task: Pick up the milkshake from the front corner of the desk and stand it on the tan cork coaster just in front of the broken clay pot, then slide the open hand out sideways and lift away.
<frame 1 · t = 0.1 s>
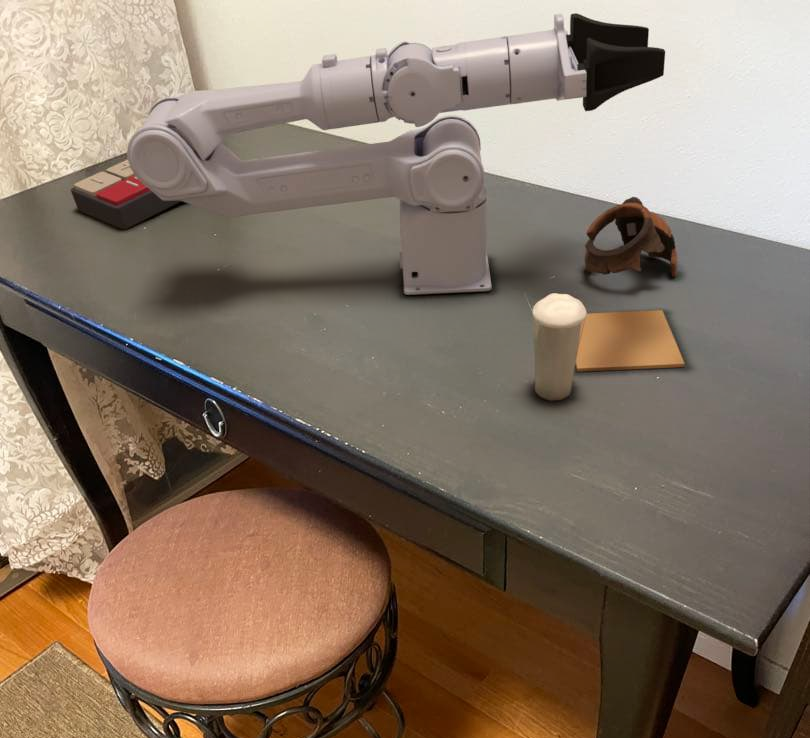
hand: (655, 50, 78), 22 cm above the table, tool horizontal, fingers open, 7 cm apart
coaster: (621, 341, 83), on the table
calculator: (146, 202, 115), on the table
broken clay pot: (629, 270, 94), on the table
milkshake: (548, 393, 78), on the table
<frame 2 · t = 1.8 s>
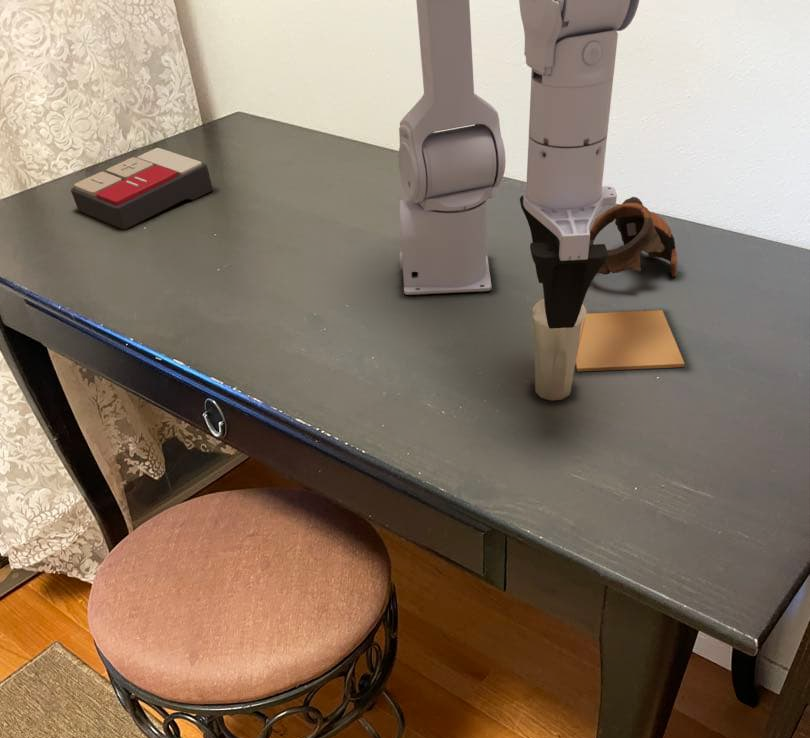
hand: (555, 302, 71), 9 cm above the table, tool pointing down, fingers open, 7 cm apart
nothing on the table moved.
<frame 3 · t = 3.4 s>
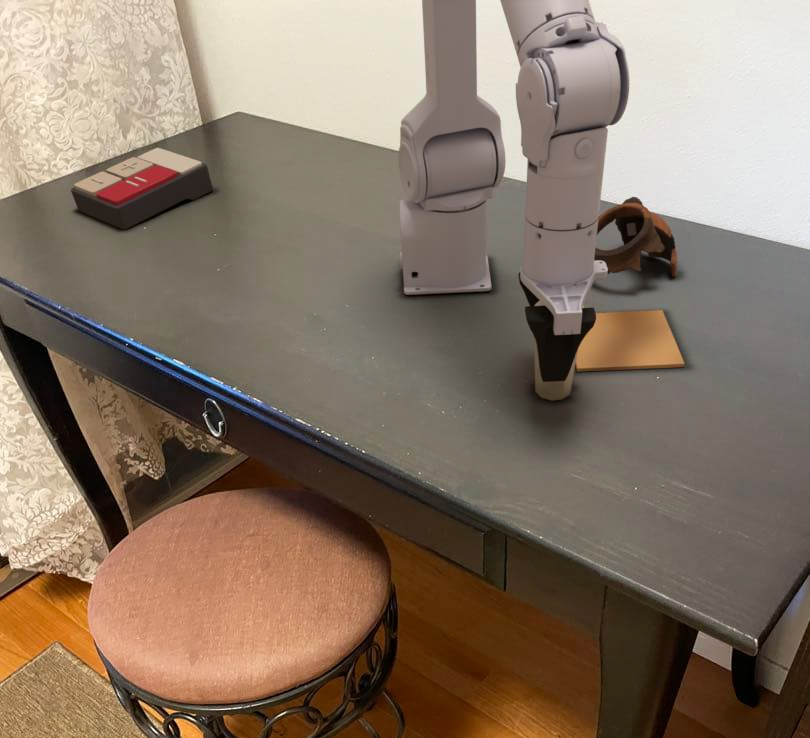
hand: (550, 364, 76), 3 cm above the table, tool pointing down, fingers closed on milkshake, 4 cm apart
milkshake: (548, 392, 78), on the table, touching gripper
everything else where it was.
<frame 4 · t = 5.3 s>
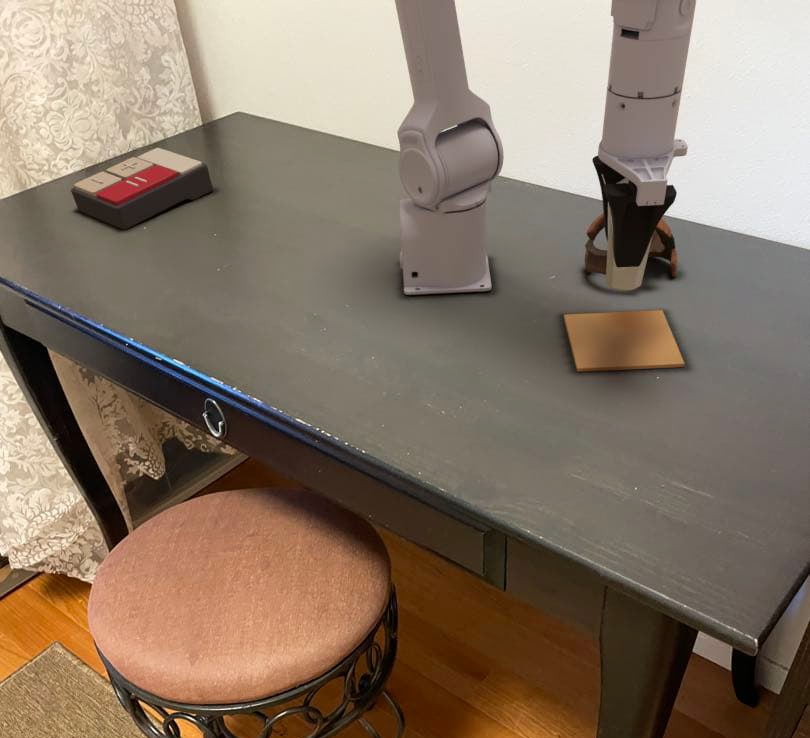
hand: (622, 252, 75), 10 cm above the table, tool pointing down, fingers closed on milkshake, 4 cm apart
milkshake: (618, 284, 78), point 7 cm above the table, touching gripper
everything else where it was.
when the fingers open (3 cm above the table, at t = 7.5 s): milkshake stays where it is, resting on coaster.
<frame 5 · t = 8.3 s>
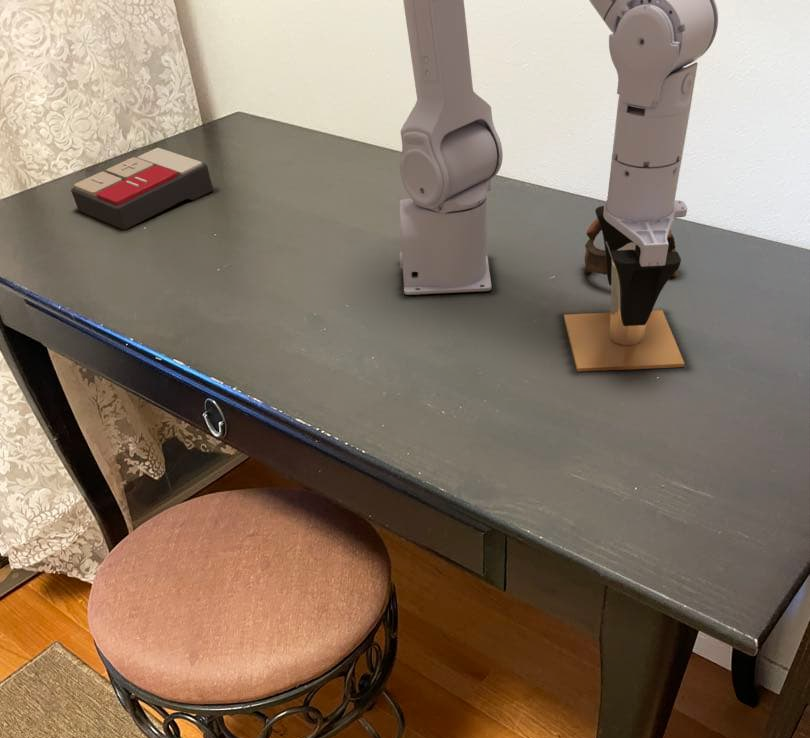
hand: (626, 302, 80), 4 cm above the table, tool pointing down, fingers open, 7 cm apart
milkshake: (621, 339, 83), resting on coaster
everything else where it was.
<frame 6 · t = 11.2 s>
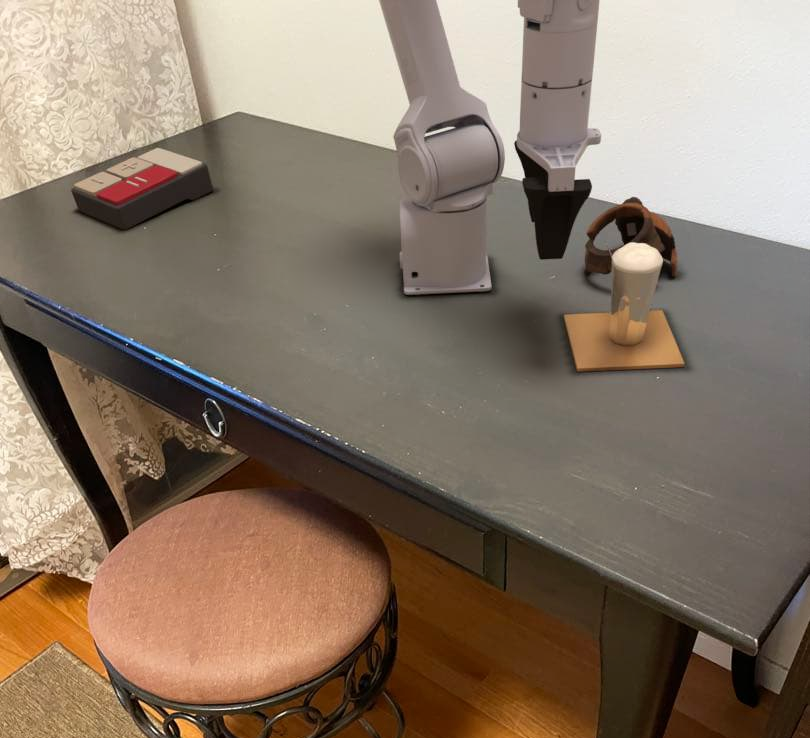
hand: (546, 238, 78), 10 cm above the table, tool pointing down, fingers open, 7 cm apart
nothing on the table moved.
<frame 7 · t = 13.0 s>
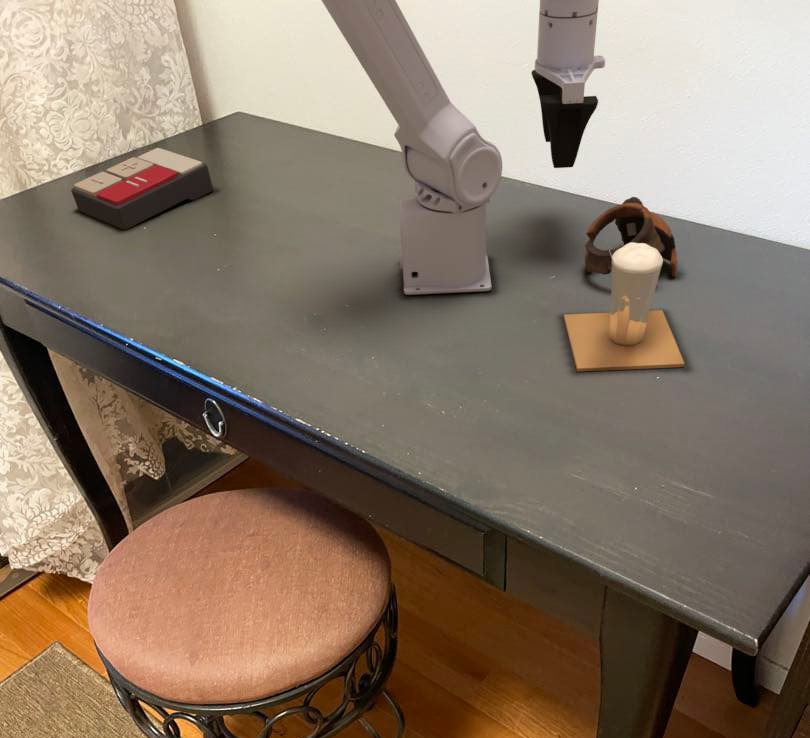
hand: (558, 153, 93), 10 cm above the table, tool pointing down, fingers open, 7 cm apart
nothing on the table moved.
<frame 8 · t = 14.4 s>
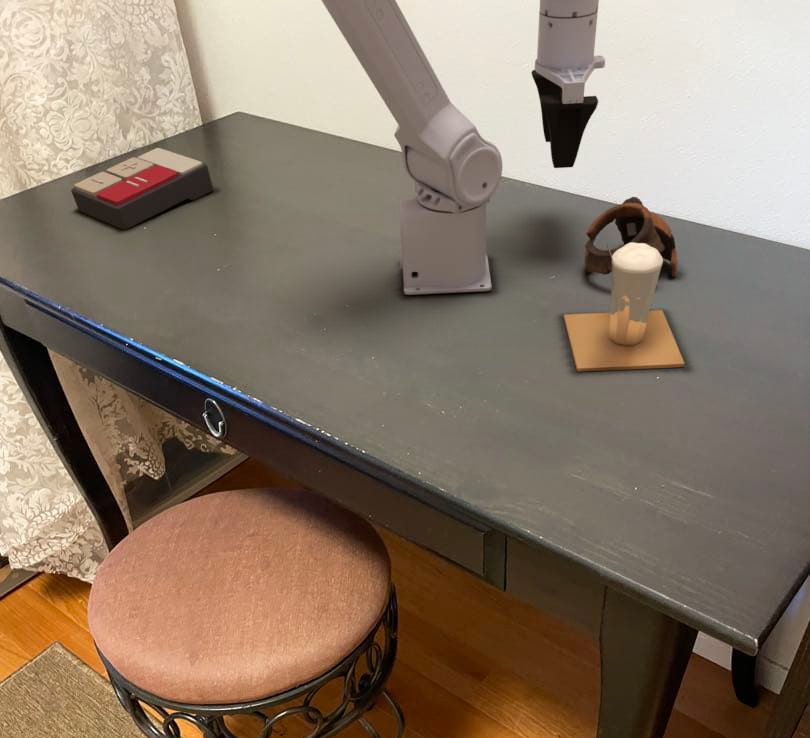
hand: (558, 153, 93), 10 cm above the table, tool pointing down, fingers open, 7 cm apart
nothing on the table moved.
at the end: milkshake 0.0 cm off-centre on the coaster, point 0.2 cm above the coaster's base; milkshake tilted 0°; broken clay pot moved 0.2 cm from its start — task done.
